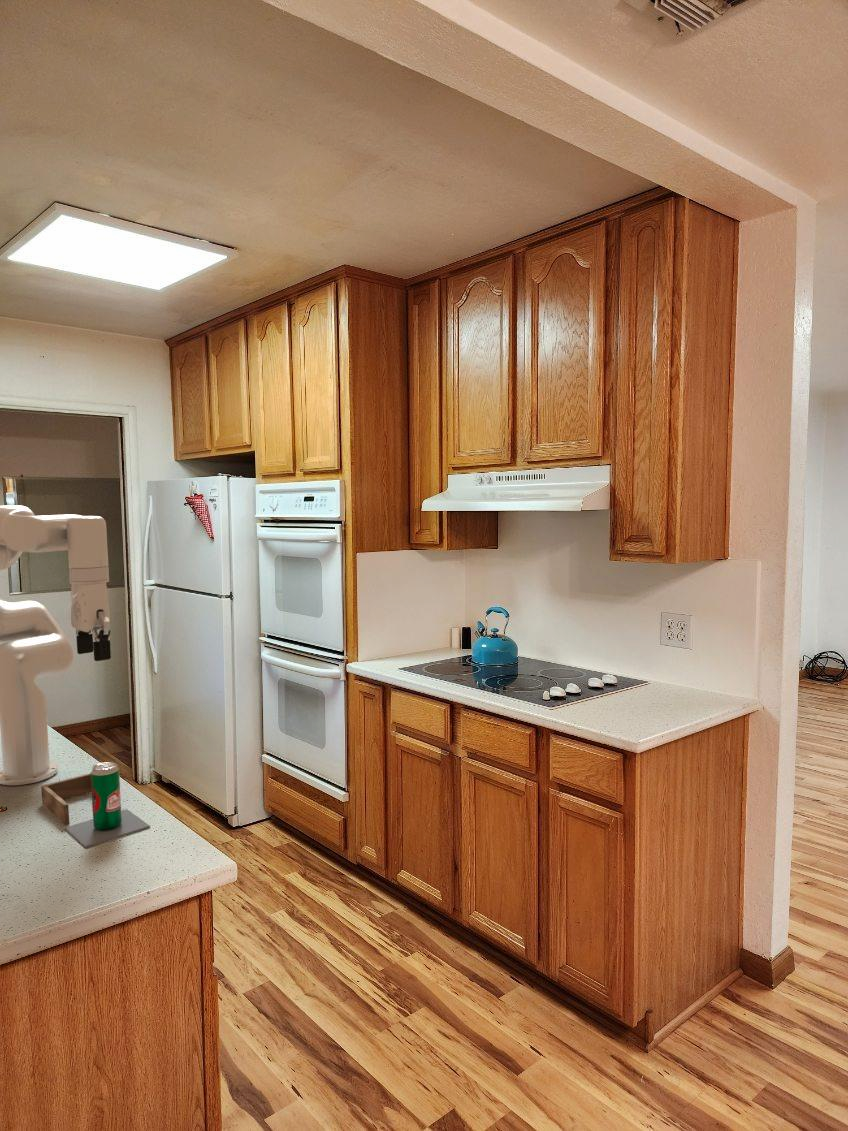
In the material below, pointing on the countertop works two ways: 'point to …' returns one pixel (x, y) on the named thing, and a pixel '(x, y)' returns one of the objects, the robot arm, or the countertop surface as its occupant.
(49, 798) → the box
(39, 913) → the countertop surface
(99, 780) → the soda can
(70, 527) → the robot arm
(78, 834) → the mat
